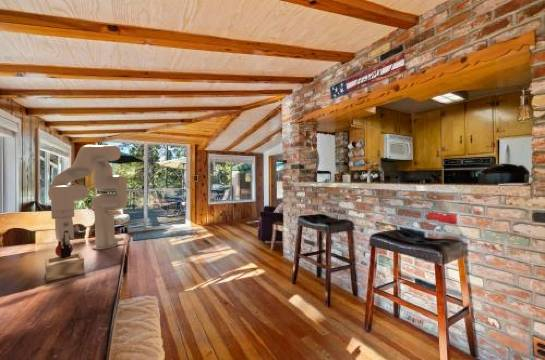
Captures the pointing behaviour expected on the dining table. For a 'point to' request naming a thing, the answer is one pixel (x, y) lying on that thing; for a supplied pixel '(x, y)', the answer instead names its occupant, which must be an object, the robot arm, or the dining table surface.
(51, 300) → the dining table surface
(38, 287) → the dining table surface
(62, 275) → the beige square hollow tray
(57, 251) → the onion
